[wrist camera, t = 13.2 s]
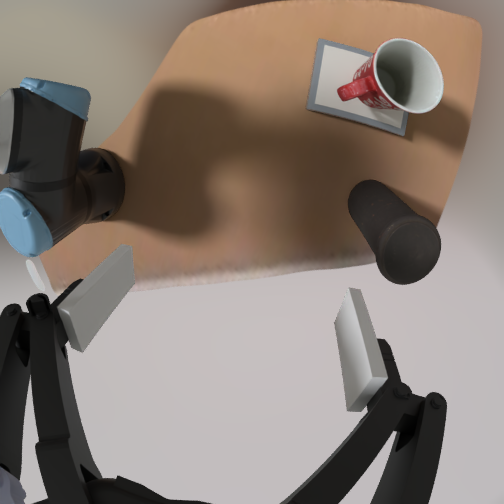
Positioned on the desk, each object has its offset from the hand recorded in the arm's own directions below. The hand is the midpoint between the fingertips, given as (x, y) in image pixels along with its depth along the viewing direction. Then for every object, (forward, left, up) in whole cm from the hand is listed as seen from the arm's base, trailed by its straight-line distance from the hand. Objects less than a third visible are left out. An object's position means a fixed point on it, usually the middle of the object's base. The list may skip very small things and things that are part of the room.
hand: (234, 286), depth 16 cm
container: (+18, -1, -33) cm, 38 cm away
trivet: (+12, +18, -33) cm, 39 cm away
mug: (+12, +17, -30) cm, 36 cm away
